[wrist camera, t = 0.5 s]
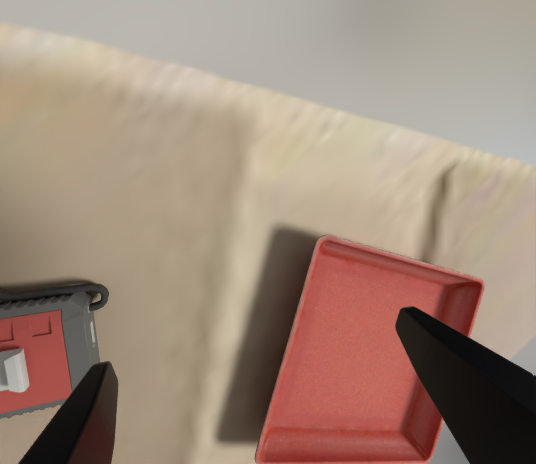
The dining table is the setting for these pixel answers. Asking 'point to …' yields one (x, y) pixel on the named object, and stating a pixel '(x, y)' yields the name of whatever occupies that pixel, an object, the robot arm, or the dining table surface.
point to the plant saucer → (360, 360)
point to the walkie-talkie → (46, 345)
